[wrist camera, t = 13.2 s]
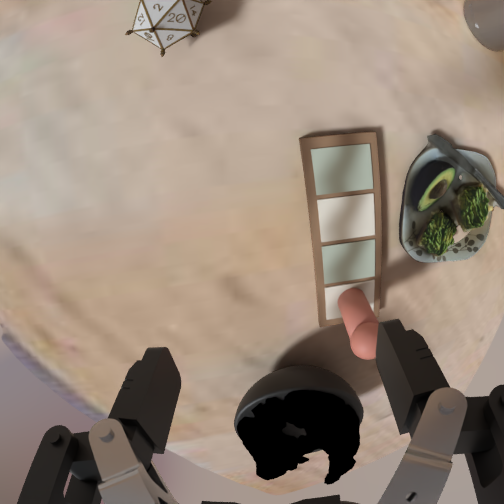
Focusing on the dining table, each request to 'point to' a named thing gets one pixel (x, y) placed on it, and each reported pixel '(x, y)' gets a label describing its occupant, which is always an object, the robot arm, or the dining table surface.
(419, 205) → the salad plate
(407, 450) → the robot arm
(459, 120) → the dining table surface
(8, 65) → the dining table surface
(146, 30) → the game die
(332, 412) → the coal bowl
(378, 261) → the board
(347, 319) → the pawn
